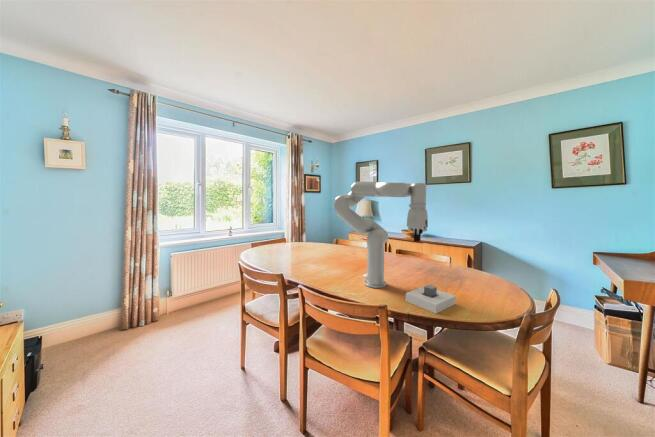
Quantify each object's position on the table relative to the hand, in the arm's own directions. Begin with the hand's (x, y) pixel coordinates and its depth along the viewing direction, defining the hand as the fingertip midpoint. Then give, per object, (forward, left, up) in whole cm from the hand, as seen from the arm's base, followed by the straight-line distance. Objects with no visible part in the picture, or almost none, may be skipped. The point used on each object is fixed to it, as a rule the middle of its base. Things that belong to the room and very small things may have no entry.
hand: (417, 241), depth 132 cm
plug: (+13, -7, -27) cm, 31 cm away
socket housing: (+13, -7, -27) cm, 31 cm away
